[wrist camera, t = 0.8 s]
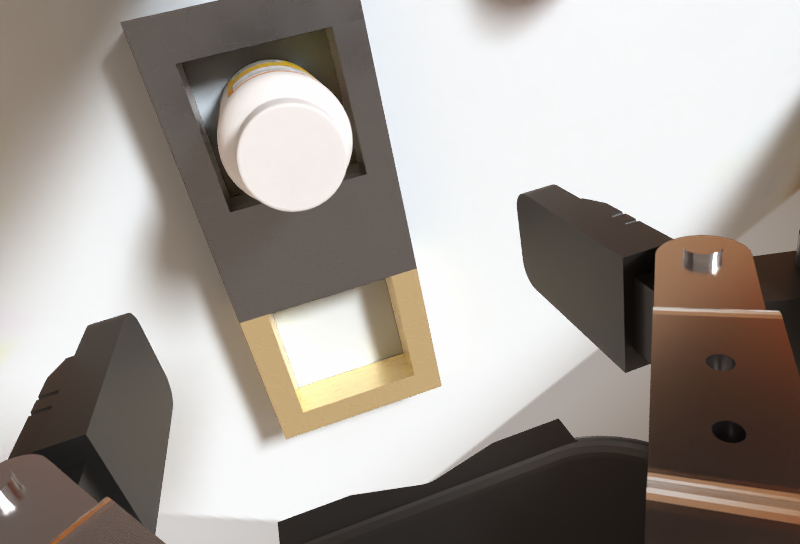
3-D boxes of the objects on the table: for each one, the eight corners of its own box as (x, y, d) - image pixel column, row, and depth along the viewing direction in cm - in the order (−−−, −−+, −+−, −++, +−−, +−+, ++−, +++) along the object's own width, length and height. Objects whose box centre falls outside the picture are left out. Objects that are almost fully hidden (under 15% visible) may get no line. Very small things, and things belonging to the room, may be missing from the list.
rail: (343, -28, 27) (353, -31, 25) (429, 363, 38) (441, 385, 36) (129, 20, 26) (120, 22, 23) (282, 413, 37) (285, 439, 34)
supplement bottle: (299, 183, 31) (325, 252, 22) (201, 136, 28) (189, 194, 20) (346, 92, 29) (393, 128, 21) (247, 35, 27) (255, 50, 19)
